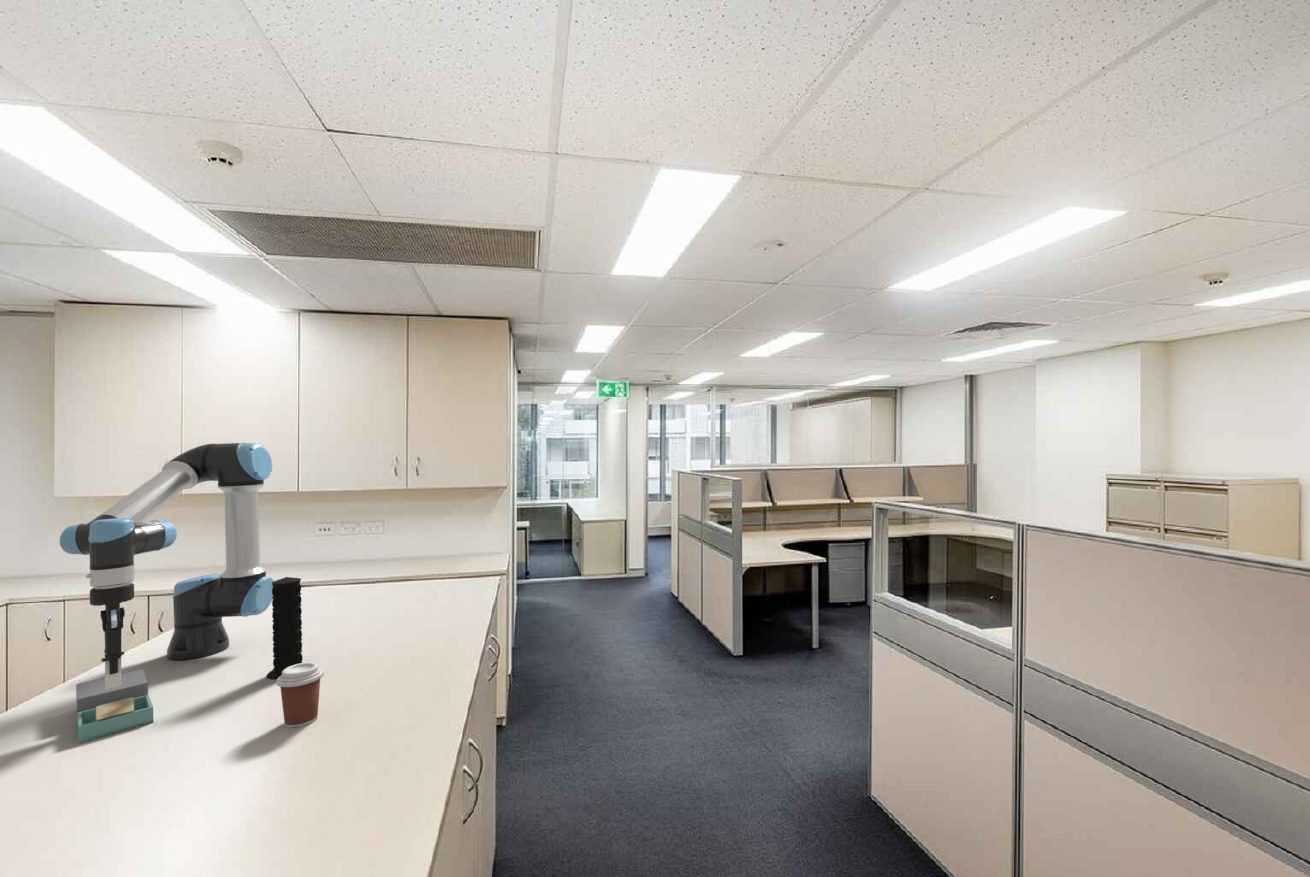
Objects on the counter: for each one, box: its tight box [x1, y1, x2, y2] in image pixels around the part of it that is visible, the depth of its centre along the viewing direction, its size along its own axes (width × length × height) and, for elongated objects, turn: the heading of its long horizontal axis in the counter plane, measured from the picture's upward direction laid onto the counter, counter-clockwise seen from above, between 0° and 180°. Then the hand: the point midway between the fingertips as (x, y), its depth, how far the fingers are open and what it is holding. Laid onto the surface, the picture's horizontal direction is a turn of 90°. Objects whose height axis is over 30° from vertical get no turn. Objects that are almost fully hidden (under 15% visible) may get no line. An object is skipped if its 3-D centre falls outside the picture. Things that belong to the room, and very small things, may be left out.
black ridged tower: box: [265, 576, 304, 680], centre depth 157 cm, size 10×26×10 cm
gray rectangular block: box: [75, 668, 149, 726], centre depth 137 cm, size 12×13×6 cm
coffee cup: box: [276, 661, 325, 729], centre depth 128 cm, size 9×9×12 cm
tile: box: [96, 697, 134, 721], centre depth 127 cm, size 6×6×3 cm
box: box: [77, 694, 154, 744], centre depth 128 cm, size 12×10×4 cm
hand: (113, 686), depth 132 cm, fingers closed
